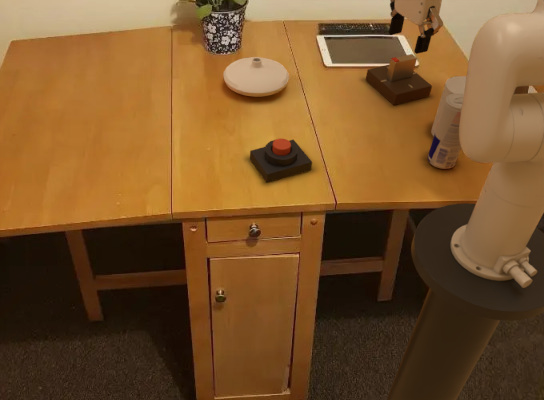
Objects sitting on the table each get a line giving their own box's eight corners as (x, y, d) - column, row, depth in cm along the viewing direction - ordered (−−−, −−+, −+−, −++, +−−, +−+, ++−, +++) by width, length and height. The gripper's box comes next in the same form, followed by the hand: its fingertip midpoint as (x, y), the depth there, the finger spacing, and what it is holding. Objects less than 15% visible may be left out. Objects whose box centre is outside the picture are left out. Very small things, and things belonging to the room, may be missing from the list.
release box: (292, 147, 123) (294, 132, 120) (311, 170, 118) (313, 154, 115) (249, 159, 120) (250, 143, 118) (266, 182, 115) (267, 167, 112)
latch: (407, 72, 140) (412, 52, 136) (412, 76, 138) (417, 56, 135) (386, 77, 138) (390, 57, 134) (391, 81, 137) (395, 61, 133)
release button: (285, 143, 118) (285, 136, 117) (293, 153, 116) (294, 146, 115) (269, 147, 117) (269, 140, 116) (277, 158, 115) (277, 151, 114)
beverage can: (460, 162, 120) (482, 100, 109) (446, 174, 117) (467, 112, 107) (436, 149, 123) (455, 88, 112) (421, 161, 120) (440, 100, 109)
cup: (465, 149, 123) (482, 101, 114) (426, 138, 126) (441, 90, 117) (473, 129, 128) (490, 82, 120) (436, 119, 131) (451, 72, 123)
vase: (280, 67, 147) (282, 41, 142) (294, 101, 136) (297, 75, 131) (219, 71, 146) (219, 45, 141) (228, 106, 134) (228, 80, 129)
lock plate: (429, 96, 138) (432, 84, 135) (393, 105, 135) (396, 94, 132) (399, 71, 146) (402, 60, 143) (365, 80, 143) (367, 68, 141)
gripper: (467, -22, 115) (445, 56, 126) (414, -51, 127) (398, 24, 138) (436, -17, 113) (417, 63, 124) (385, -46, 125) (371, 29, 136)
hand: (407, 42), depth 131 cm, fingers open, 9 cm apart
